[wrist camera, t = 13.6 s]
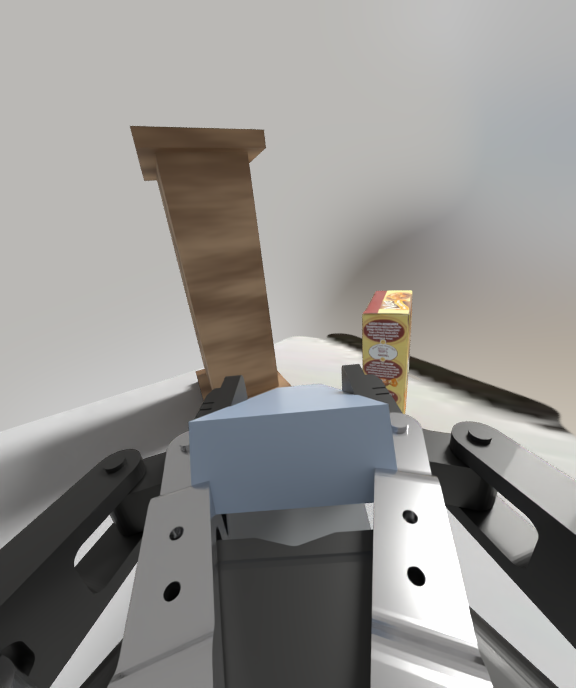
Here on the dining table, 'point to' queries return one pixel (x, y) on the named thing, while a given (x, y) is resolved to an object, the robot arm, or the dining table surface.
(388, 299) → the candy box
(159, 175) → the pedestal
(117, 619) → the dining table surface
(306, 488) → the light blue bar
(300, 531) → the mat
